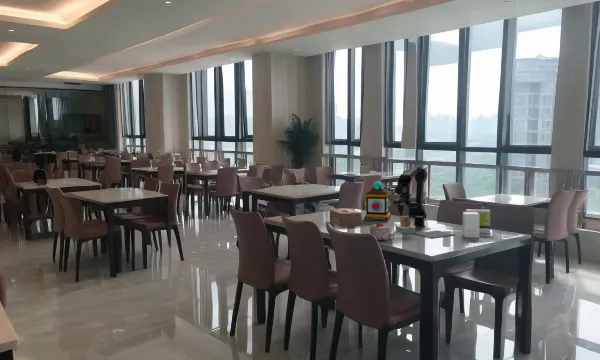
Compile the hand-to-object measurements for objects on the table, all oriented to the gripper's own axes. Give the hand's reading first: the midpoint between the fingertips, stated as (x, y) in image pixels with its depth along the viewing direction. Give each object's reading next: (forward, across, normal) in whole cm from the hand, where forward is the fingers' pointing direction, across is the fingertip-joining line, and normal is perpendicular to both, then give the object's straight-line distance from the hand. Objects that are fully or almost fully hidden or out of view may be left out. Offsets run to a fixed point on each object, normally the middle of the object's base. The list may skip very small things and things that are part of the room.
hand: (405, 216), depth 322 cm
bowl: (+10, 0, 0) cm, 10 cm away
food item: (+11, +10, -29) cm, 33 cm away
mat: (+10, +18, +9) cm, 23 cm away
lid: (+7, 0, 0) cm, 7 cm away
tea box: (+11, +26, +39) cm, 48 cm away
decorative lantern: (+11, -48, +13) cm, 51 cm away
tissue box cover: (+11, -46, -18) cm, 51 cm away
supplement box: (+11, +33, +25) cm, 43 cm away
